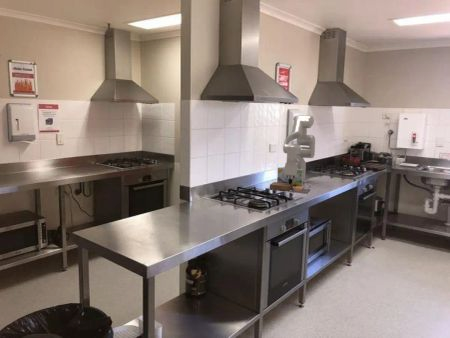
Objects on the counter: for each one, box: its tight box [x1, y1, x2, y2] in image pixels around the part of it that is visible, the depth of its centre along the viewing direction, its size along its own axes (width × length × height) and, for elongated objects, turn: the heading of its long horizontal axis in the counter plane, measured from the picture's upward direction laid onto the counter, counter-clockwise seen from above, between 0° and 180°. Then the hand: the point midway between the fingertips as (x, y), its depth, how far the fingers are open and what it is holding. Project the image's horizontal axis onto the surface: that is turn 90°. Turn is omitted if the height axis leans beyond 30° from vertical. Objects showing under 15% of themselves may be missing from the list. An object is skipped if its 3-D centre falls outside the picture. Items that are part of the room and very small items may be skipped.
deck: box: [269, 181, 294, 193], centre depth 296 cm, size 14×16×4 cm
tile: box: [293, 186, 305, 192], centre depth 291 cm, size 9×6×2 cm, turn 158°
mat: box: [290, 188, 311, 194], centre depth 291 cm, size 16×13×1 cm
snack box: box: [276, 166, 304, 188], centre depth 311 cm, size 21×6×15 cm, turn 62°
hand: (290, 183), depth 294 cm, fingers closed
